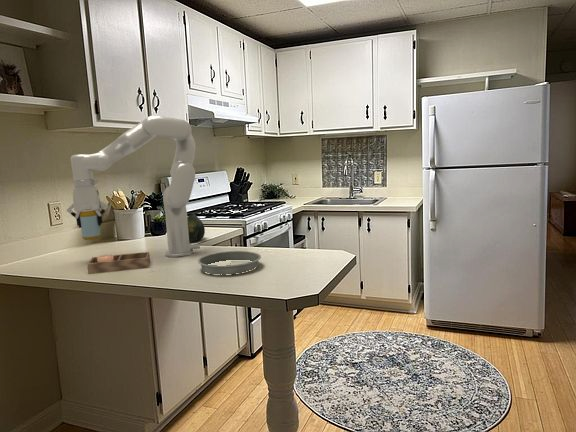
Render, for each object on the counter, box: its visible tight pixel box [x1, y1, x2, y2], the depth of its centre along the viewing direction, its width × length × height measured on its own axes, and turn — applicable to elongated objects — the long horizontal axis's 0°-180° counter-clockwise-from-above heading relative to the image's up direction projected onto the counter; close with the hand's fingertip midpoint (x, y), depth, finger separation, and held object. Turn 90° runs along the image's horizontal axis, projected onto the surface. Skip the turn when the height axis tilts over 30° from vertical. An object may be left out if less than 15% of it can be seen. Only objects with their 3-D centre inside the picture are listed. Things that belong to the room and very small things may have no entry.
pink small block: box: [96, 254, 114, 262], centre depth 178 cm, size 6×6×5 cm
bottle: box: [80, 204, 101, 241], centre depth 186 cm, size 7×7×15 cm
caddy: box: [86, 251, 151, 275], centre depth 179 cm, size 22×12×5 cm, turn 104°
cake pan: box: [197, 250, 262, 275], centre depth 174 cm, size 25×25×4 cm
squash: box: [187, 213, 206, 243], centre depth 232 cm, size 14×15×15 cm
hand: (90, 225), depth 186 cm, fingers closed on bottle, 7 cm apart
